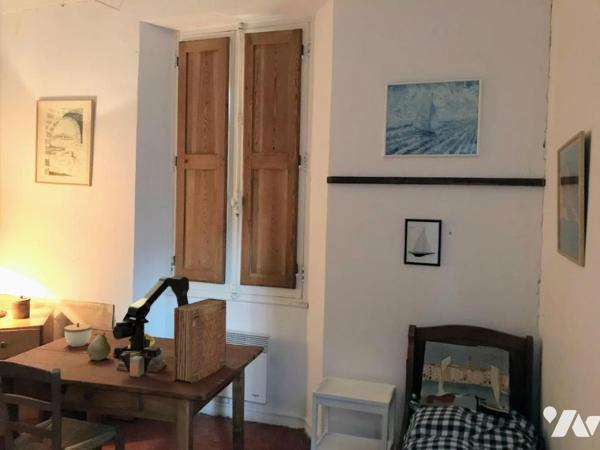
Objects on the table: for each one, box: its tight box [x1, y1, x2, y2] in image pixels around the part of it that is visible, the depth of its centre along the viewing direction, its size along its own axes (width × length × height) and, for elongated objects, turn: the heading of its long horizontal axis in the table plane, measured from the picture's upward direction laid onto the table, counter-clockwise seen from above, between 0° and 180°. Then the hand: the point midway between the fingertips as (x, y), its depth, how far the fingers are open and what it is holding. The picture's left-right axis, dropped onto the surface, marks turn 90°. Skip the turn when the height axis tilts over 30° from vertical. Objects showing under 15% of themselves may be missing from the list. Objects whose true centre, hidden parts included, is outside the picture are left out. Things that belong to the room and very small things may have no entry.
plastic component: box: [112, 332, 156, 358], centre depth 253 cm, size 20×7×10 cm
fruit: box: [86, 331, 112, 361], centre depth 242 cm, size 10×9×12 cm
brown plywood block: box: [172, 298, 227, 384], centre depth 226 cm, size 25×9×30 cm, turn 156°
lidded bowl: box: [63, 322, 92, 348], centre depth 265 cm, size 13×13×11 cm
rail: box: [116, 348, 167, 374], centre depth 232 cm, size 18×11×8 cm, turn 82°
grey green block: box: [129, 355, 145, 378], centre depth 223 cm, size 6×4×7 cm
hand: (137, 371), depth 223 cm, fingers open, 7 cm apart
